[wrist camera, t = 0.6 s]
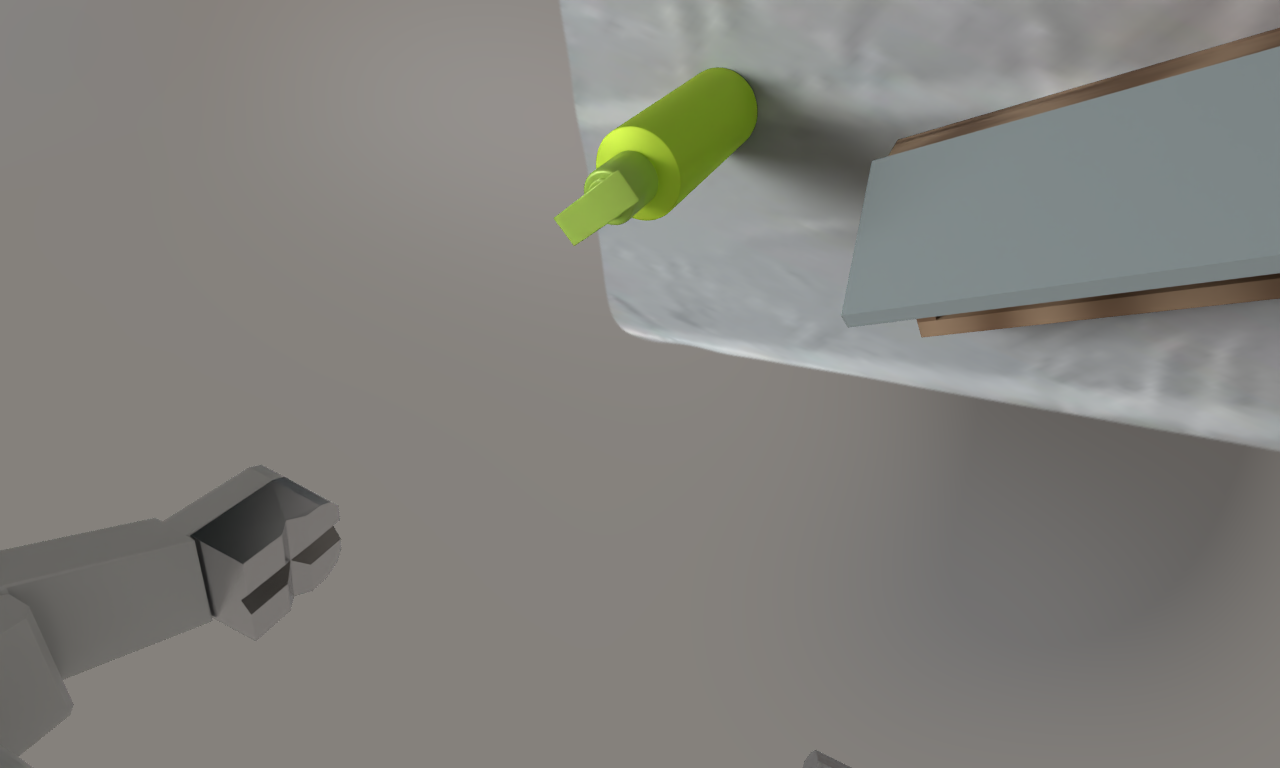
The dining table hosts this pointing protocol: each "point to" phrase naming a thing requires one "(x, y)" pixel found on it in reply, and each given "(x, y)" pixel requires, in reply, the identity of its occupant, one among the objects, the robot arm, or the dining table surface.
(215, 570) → the robot arm
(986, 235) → the lid
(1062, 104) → the wooden box
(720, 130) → the soap dispenser
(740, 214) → the dining table surface
